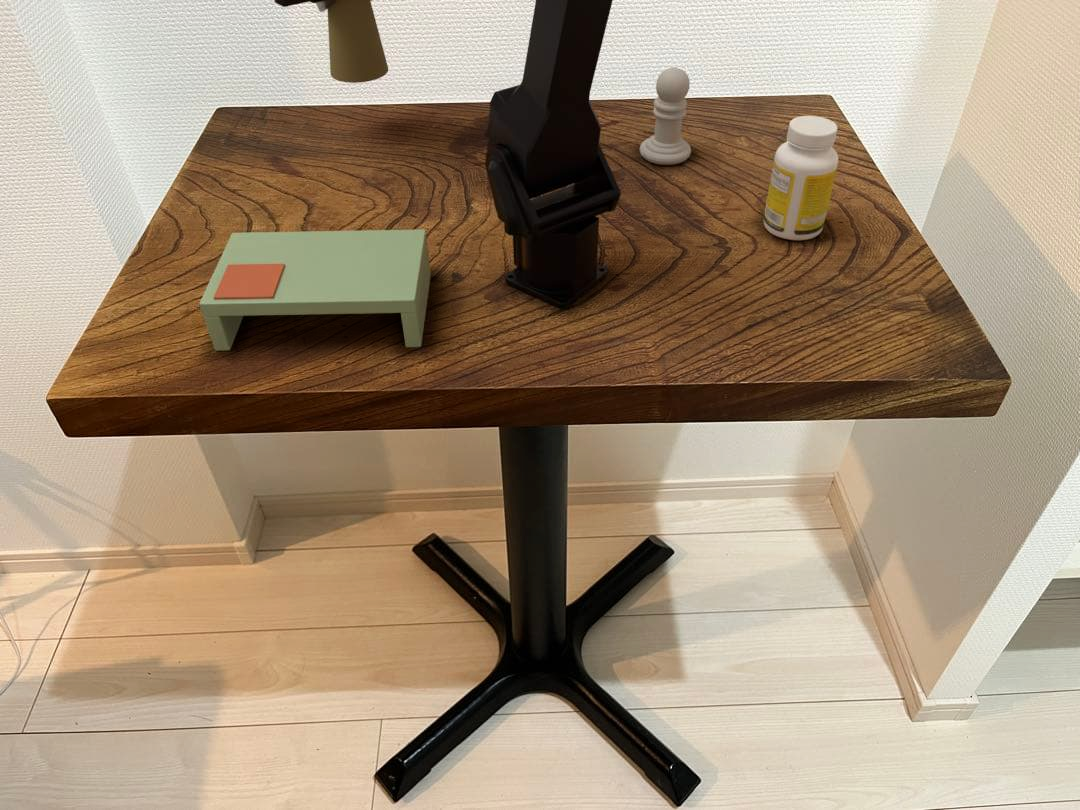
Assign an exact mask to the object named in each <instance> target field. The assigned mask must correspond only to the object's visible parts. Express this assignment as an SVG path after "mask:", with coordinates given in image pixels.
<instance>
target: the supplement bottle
mask: <svg viewBox="0 0 1080 810" xmlns="http://www.w3.org/2000/svg"><path fill="white" fill-rule="evenodd" d="M837 135H838V125H837V123H836V122H834V121H832V119H829V118H826V117H823V116H818V115H801V116H800V115H799V116H797V117H795V118H792V119H791V120H790V121H789V124H788V128H787V133H786V142H784V143H781V144H780V145H779V146H778V148H777V149H776V152H775V155H774V159H773V165H772V169H771V176H770V181H769V186H768V192H767V197H766V202H765V208H764V215H763V226H764V227H765V229H766V231H768V232H769V233H770V234H771V235H773V236H775V237H778V238H780V239H783V240H789V241H807V240H811V239H814V238H816V237H817V236H818V235H820V234H821V232H822V231H823V228H824V225H825V221H826V218H827V213H828V209H829V205H830V201H831V197H832V192H833V187H834V184H835V179H836V174H837V170H838V165H839V154H838V152H837V150H836V149H835V148H834V147H833V146H834V144H835V142H836V139H837Z"/></svg>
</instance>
